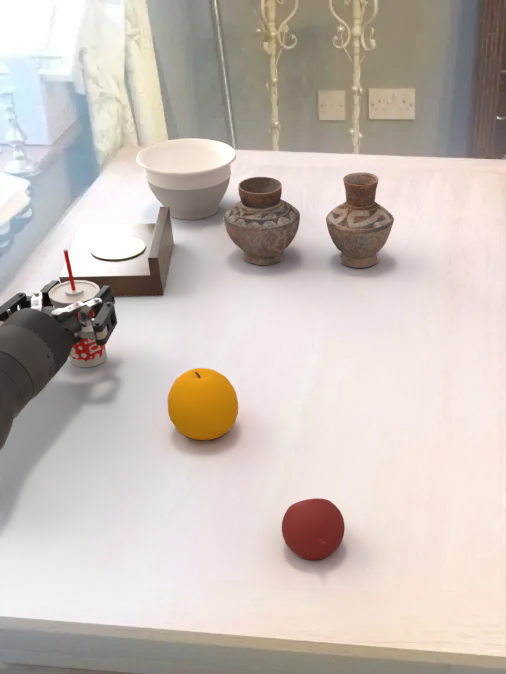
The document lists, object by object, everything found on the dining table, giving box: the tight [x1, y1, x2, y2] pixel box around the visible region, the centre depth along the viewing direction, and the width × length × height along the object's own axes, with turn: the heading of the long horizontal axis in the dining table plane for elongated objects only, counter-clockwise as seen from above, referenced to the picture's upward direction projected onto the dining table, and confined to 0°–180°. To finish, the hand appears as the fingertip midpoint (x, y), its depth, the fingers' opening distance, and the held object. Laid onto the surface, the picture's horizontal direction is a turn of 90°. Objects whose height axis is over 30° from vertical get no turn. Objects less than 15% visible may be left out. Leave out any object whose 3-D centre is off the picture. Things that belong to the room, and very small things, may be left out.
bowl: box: [135, 137, 237, 221], centre depth 146 cm, size 16×16×8 cm
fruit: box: [281, 497, 346, 561], centre depth 86 cm, size 6×6×8 cm
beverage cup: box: [48, 249, 108, 368], centre depth 110 cm, size 6×6×14 cm
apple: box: [167, 367, 239, 441], centre depth 101 cm, size 8×8×8 cm
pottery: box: [223, 171, 395, 269], centre depth 131 cm, size 11×25×12 cm, turn 86°
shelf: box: [58, 206, 175, 297], centre depth 131 cm, size 14×18×6 cm
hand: (83, 290), depth 111 cm, fingers closed on beverage cup, 6 cm apart
